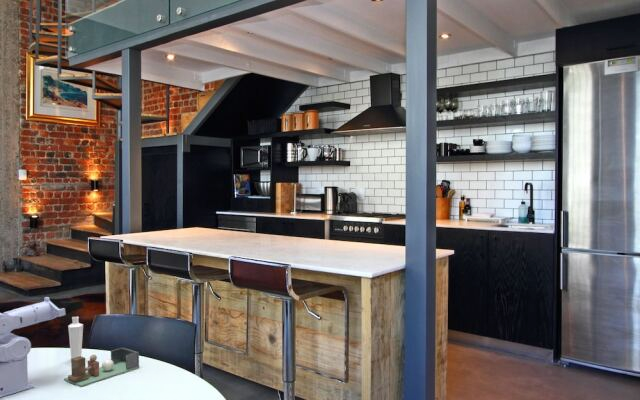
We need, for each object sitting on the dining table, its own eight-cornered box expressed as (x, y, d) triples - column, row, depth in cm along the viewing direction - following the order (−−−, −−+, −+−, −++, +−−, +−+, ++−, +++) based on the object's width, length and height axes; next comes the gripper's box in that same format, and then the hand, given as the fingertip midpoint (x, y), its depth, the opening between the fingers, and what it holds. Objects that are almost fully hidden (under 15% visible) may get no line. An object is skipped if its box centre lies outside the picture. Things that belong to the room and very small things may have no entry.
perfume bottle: (72, 365, 168) (72, 319, 167) (66, 362, 170) (65, 317, 170) (86, 361, 171) (85, 317, 171) (79, 359, 174) (78, 315, 174)
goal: (127, 371, 161) (126, 355, 161) (111, 366, 166) (110, 350, 166) (139, 367, 165) (138, 352, 164) (122, 362, 170) (122, 347, 170)
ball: (105, 373, 158) (105, 362, 158) (99, 371, 160) (99, 360, 160) (116, 370, 161) (116, 359, 161) (109, 368, 163) (109, 357, 163)
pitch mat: (81, 387, 148) (81, 385, 148) (63, 380, 154) (63, 378, 154) (138, 368, 164) (138, 366, 164) (120, 362, 170) (120, 361, 170)
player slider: (75, 382, 150) (74, 361, 150) (68, 379, 152) (67, 358, 152) (100, 374, 156) (99, 354, 156) (93, 371, 159) (92, 352, 159)
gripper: (42, 304, 147) (87, 292, 158) (19, 298, 156) (63, 287, 167) (45, 328, 148) (89, 314, 159) (21, 321, 156) (65, 308, 167)
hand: (76, 302), depth 163 cm, fingers open, 7 cm apart
